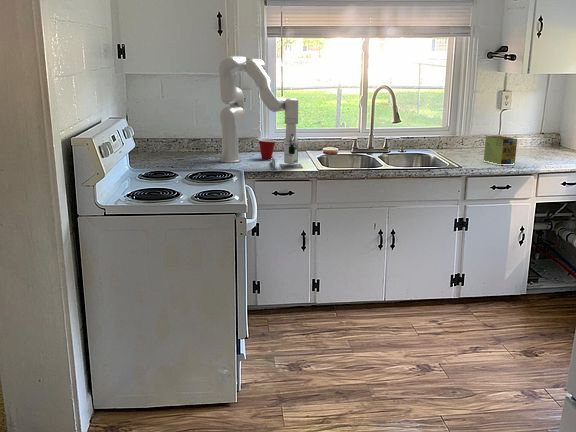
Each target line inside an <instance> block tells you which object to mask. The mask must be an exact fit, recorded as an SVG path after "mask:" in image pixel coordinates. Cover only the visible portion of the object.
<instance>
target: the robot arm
mask: <svg viewBox="0 0 576 432" xmlns="http://www.w3.org/2000/svg"><path fill="white" fill-rule="evenodd" d="M266 67H267V66H266V63H265V62H264V60H263V59H260V58H256V57H255V58H253V57H249V56H243V55H228V56H226V57H224V58H223V59H222V60H221V61H220V63H219V66H218V73H219V74H218V75H219V87H220V90H219V91H220V100H221V102H222V103H224V104H225V105H229V106H225V107H224V108H222V109H221V111H220V113H219V119H220V125H221V126H220V127H221V151H222V152H221V153H219V154H217V153H215V154H214V158H215V159H219V162H221V163H228V164H229V163H230V164H231V163H233V162H234V163H239V162H242V159H241V157H239V155H240V154H239V128H238V125H237V123H239V122H241V121H243V119H244V118H245V115H246V111H245V110H246V109H245V96H244V93H243V90H242V89H241V88H240V87H238V86H236V80H235V76H234V72H243V73H247V75H248V77H249V78H250V79H251V81H253V83H254V85H255V86H256V88H257V89H258V94H259V97H260V99H261V101H262V102H263V103H264V105H265V107H266V108H267V109H268V110H269V111H271V112H273V113H278V112H283V111H284V124H285V138H286V141H287V142H288V141H289V154H295V147H294V140H295V141H296V136H297V125H299V99H298V98H294V97H293V98H292V97H289V98H287V97H282V96H281V97H279V96H278V97H276V96H275V94H274V93H273V92H272V90H271V87H270V86H271V85H270V84H271V78H270V77H269V75H268V74H267V72H266ZM290 140H291V141H290Z"/></svg>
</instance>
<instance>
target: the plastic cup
mask: <svg viewBox="0 0 576 432" xmlns="http://www.w3.org/2000/svg"><path fill="white" fill-rule="evenodd" d="M276 142H277V140H275V139H272V138H258V145H259V149H260V156H261V159H262V160H263V159H271V158H272V155H273V153H274V149H275V145H276ZM271 160H272V159H271Z"/></svg>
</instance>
